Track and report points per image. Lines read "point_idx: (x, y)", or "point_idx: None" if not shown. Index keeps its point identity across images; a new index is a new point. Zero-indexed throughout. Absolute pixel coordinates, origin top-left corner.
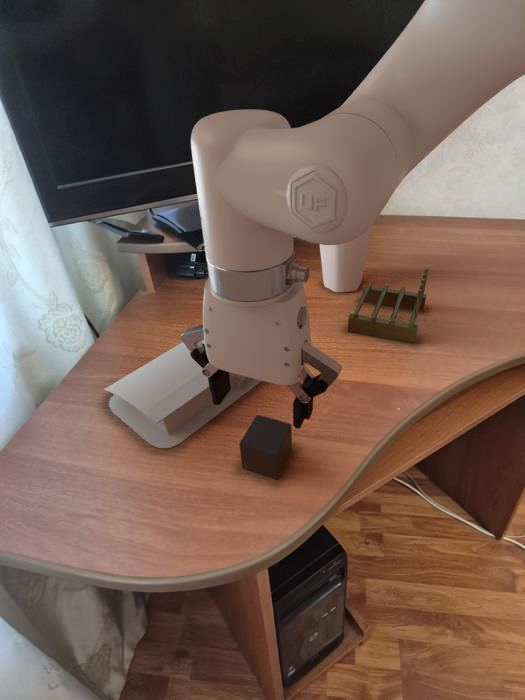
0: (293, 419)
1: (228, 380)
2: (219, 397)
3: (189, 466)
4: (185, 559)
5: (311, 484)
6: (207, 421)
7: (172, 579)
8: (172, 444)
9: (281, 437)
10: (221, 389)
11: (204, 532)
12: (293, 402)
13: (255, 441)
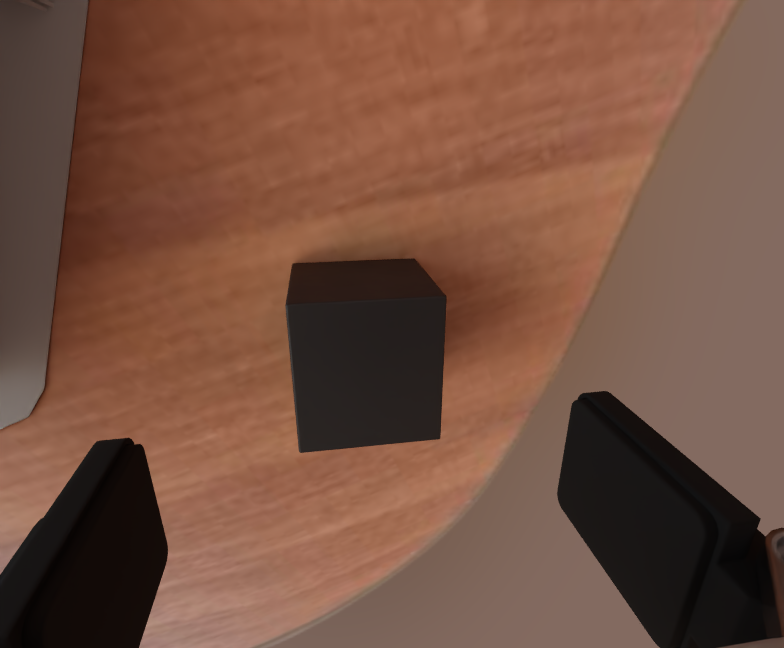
0: (584, 538)
1: (112, 512)
2: (151, 584)
3: (147, 439)
4: (308, 597)
5: (503, 348)
6: (54, 264)
7: (308, 627)
8: (24, 403)
9: (432, 369)
10: (133, 594)
11: (311, 547)
12: (660, 645)
13: (350, 423)
